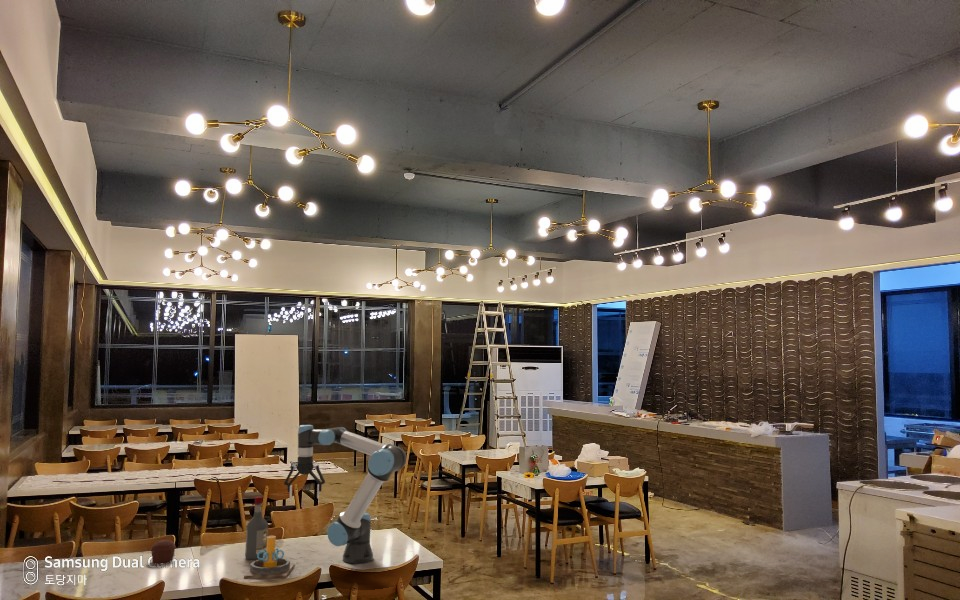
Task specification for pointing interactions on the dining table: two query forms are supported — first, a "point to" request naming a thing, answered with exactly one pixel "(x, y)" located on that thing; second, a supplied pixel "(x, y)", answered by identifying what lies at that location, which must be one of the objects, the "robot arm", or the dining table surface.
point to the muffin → (163, 551)
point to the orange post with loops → (270, 553)
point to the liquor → (256, 533)
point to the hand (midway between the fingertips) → (304, 498)
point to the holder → (270, 569)
